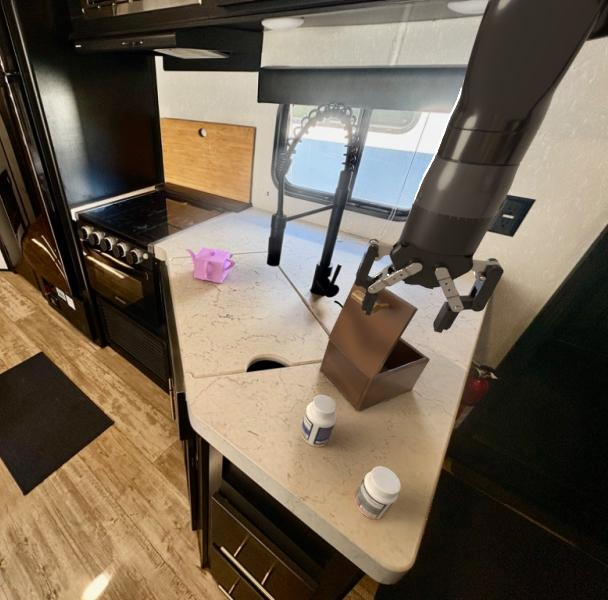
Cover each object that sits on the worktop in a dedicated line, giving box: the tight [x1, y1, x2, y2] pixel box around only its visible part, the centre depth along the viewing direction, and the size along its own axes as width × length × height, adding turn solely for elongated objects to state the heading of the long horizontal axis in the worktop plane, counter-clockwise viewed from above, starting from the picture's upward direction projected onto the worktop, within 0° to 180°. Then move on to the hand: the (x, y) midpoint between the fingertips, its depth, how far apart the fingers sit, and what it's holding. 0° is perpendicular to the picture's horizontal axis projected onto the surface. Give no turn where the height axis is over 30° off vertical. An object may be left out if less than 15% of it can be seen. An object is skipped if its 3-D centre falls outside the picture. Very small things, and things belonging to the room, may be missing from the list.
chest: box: [319, 336, 431, 413], centre depth 70 cm, size 16×13×10 cm
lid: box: [327, 281, 419, 379], centre depth 59 cm, size 16×13×5 cm
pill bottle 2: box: [354, 465, 402, 520], centre depth 49 cm, size 5×5×8 cm
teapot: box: [185, 246, 236, 284], centre depth 108 cm, size 18×14×10 cm
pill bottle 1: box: [300, 394, 337, 448], centre depth 58 cm, size 5×5×10 cm
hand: (400, 320), depth 43 cm, fingers open, 8 cm apart
